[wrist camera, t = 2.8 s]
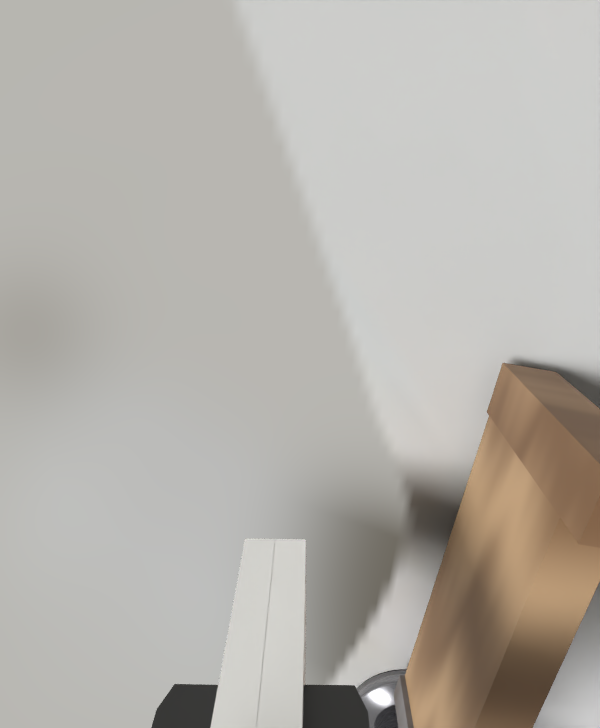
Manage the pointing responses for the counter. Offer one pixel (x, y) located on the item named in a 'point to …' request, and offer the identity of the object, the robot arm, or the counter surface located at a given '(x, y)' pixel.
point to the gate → (512, 562)
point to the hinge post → (381, 699)
